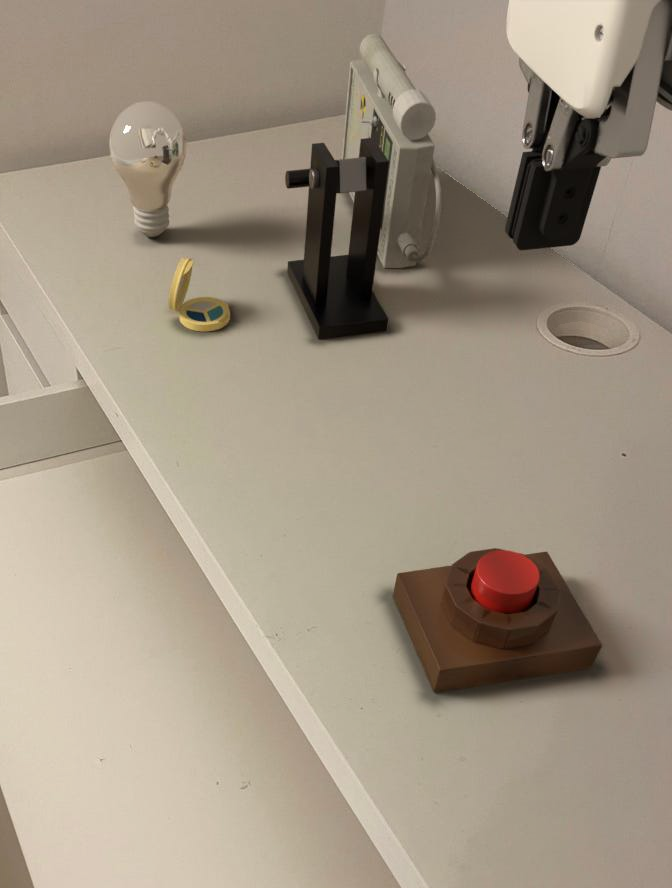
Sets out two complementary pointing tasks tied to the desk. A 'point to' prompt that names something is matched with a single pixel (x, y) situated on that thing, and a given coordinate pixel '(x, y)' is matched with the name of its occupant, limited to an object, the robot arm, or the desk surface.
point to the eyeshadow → (196, 303)
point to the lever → (348, 176)
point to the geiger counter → (393, 147)
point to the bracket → (347, 276)
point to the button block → (492, 627)
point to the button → (505, 581)
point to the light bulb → (148, 161)
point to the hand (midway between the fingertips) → (540, 239)
